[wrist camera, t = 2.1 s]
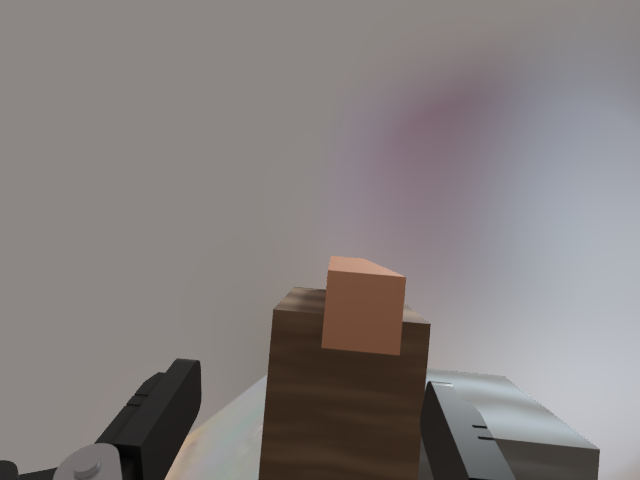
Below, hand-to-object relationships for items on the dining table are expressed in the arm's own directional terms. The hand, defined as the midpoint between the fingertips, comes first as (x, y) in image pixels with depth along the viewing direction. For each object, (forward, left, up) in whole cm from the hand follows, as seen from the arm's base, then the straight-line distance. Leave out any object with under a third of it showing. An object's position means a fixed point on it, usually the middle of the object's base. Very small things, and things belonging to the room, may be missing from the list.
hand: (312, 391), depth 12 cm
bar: (+12, +13, 0) cm, 18 cm away
